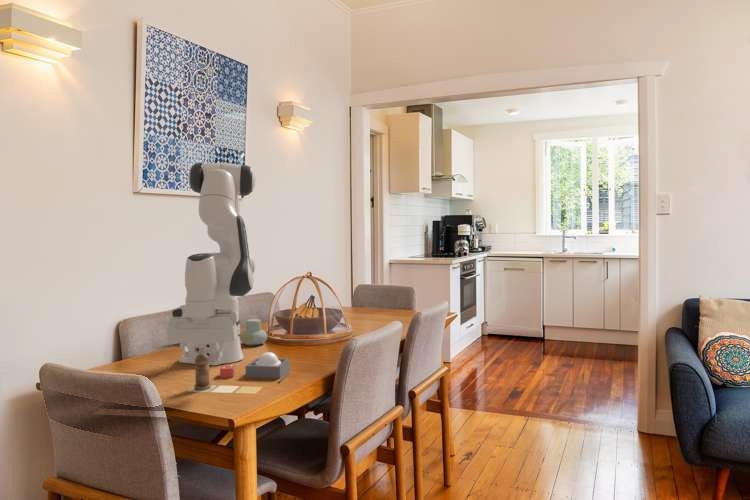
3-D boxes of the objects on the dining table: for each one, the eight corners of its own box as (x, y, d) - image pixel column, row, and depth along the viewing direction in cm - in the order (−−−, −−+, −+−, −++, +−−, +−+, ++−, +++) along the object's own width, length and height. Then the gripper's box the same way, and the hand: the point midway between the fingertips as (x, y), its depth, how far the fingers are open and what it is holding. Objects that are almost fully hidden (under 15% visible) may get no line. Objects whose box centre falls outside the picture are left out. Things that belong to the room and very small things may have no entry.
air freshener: (270, 343, 234) (270, 319, 233) (258, 347, 226) (258, 322, 226) (249, 341, 238) (249, 317, 238) (236, 345, 231) (236, 320, 230)
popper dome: (252, 375, 177) (251, 354, 177) (260, 368, 185) (260, 349, 185) (276, 375, 176) (276, 355, 176) (284, 369, 184) (283, 349, 184)
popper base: (245, 381, 176) (245, 366, 176) (257, 372, 187) (257, 357, 187) (280, 383, 175) (279, 367, 174) (289, 373, 186) (289, 358, 185)
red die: (220, 381, 176) (220, 367, 176) (221, 378, 180) (221, 364, 180) (233, 381, 177) (233, 367, 176) (234, 377, 181) (234, 364, 180)
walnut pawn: (191, 390, 163) (190, 355, 162) (198, 385, 167) (197, 351, 167) (206, 390, 162) (206, 355, 162) (213, 386, 167) (212, 352, 166)
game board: (184, 396, 161) (184, 392, 161) (197, 387, 170) (197, 383, 170) (255, 399, 158) (255, 394, 158) (265, 390, 167) (265, 385, 167)
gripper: (240, 308, 165) (241, 355, 166) (173, 308, 168) (175, 355, 168) (232, 311, 159) (233, 359, 159) (163, 311, 162) (165, 359, 162)
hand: (203, 357), depth 164 cm, fingers open, 8 cm apart
